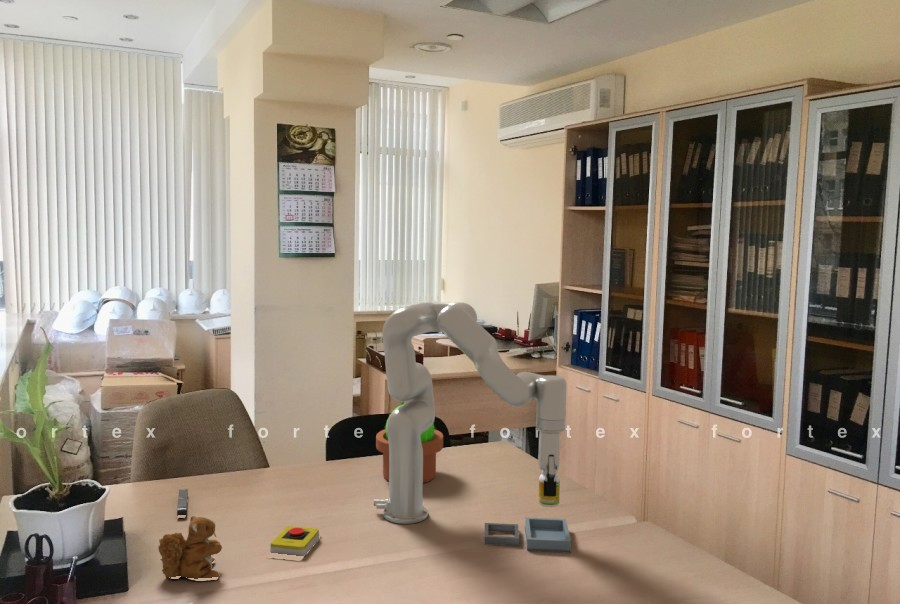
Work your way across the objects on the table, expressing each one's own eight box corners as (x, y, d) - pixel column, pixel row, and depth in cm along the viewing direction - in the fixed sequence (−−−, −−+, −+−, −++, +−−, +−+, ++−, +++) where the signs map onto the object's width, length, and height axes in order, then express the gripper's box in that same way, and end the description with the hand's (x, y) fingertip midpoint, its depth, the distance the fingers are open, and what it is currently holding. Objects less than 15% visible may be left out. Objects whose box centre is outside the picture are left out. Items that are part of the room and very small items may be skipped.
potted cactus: (441, 488, 225) (443, 410, 222) (372, 486, 225) (372, 408, 222) (443, 465, 247) (444, 394, 244) (379, 464, 247) (380, 392, 244)
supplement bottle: (558, 508, 184) (559, 471, 183) (537, 506, 185) (538, 470, 184) (559, 500, 189) (560, 465, 188) (539, 499, 191) (539, 463, 190)
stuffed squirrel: (222, 580, 164) (221, 525, 163) (155, 588, 160) (154, 531, 158) (222, 561, 173) (221, 508, 172) (159, 568, 169) (158, 514, 168)
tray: (527, 550, 182) (527, 539, 181) (525, 527, 196) (525, 517, 195) (570, 552, 181) (571, 541, 181) (565, 529, 195) (565, 519, 195)
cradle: (483, 544, 185) (484, 536, 185) (484, 529, 194) (484, 522, 194) (518, 545, 184) (519, 538, 184) (517, 531, 193) (518, 524, 193)
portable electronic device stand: (187, 519, 198) (186, 509, 198) (177, 520, 197) (176, 510, 197) (188, 496, 215) (188, 487, 214) (178, 497, 214) (178, 488, 214)
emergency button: (322, 522, 188) (300, 546, 173) (322, 538, 188) (300, 563, 174) (289, 518, 189) (264, 542, 175) (289, 534, 190) (265, 560, 175)
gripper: (534, 415, 194) (532, 479, 196) (537, 432, 177) (536, 503, 179) (562, 415, 194) (560, 480, 195) (568, 433, 176) (566, 504, 178)
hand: (548, 490), depth 187 cm, fingers closed on supplement bottle, 5 cm apart
